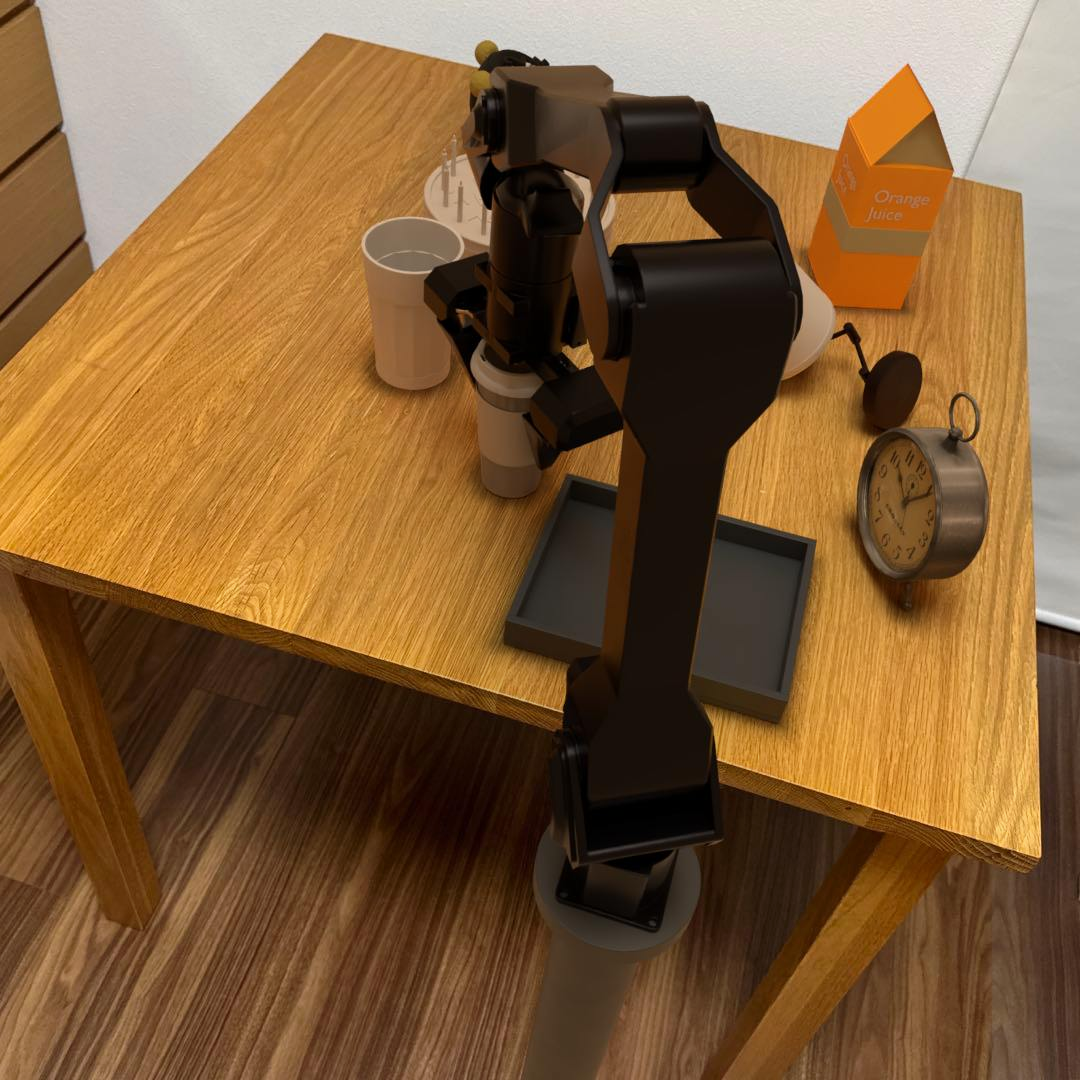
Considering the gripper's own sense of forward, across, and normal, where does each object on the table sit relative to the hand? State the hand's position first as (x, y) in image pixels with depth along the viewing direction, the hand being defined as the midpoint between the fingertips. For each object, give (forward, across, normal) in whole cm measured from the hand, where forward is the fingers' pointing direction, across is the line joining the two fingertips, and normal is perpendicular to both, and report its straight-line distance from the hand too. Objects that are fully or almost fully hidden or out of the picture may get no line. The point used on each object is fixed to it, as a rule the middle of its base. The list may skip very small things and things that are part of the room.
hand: (515, 434), depth 85 cm
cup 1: (+5, +16, 0) cm, 16 cm away
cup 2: (+5, 0, 0) cm, 5 cm away
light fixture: (+5, -2, -27) cm, 28 cm away
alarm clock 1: (+6, +41, -28) cm, 50 cm away
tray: (+4, -16, -3) cm, 17 cm away
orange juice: (+5, +7, -44) cm, 45 cm away
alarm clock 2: (+4, -22, -21) cm, 30 cm away
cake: (+5, +23, -15) cm, 28 cm away
